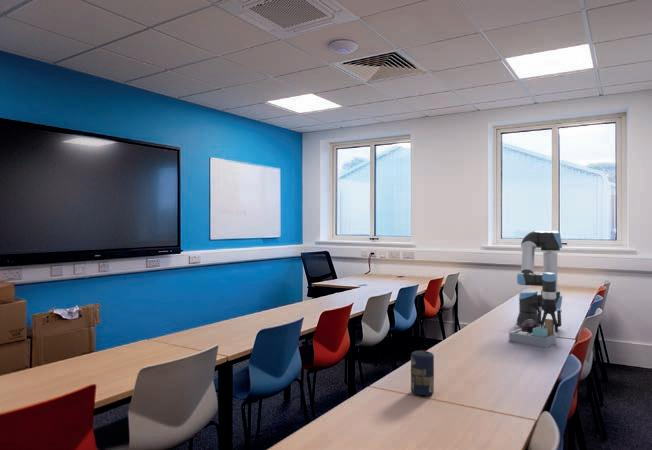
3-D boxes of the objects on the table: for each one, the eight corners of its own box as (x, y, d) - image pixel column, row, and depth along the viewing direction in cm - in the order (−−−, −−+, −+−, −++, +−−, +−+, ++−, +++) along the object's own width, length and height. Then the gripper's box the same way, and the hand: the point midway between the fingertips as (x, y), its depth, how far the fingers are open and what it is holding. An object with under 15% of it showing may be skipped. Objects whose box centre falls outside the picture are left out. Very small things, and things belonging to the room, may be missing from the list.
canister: (408, 389, 195) (408, 347, 195) (429, 388, 196) (429, 347, 196) (414, 398, 185) (414, 354, 185) (437, 397, 186) (436, 353, 186)
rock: (518, 335, 290) (534, 337, 283) (517, 322, 289) (533, 324, 282) (525, 329, 298) (541, 331, 291) (523, 316, 297) (540, 318, 290)
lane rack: (519, 336, 281) (519, 328, 281) (555, 343, 266) (555, 334, 266) (509, 340, 272) (509, 332, 272) (546, 347, 256) (546, 339, 256)
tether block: (545, 338, 277) (545, 318, 277) (556, 339, 273) (556, 320, 273) (532, 344, 265) (532, 323, 264) (543, 346, 260) (543, 325, 260)
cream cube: (519, 339, 275) (519, 331, 275) (528, 340, 272) (528, 332, 272) (517, 341, 271) (517, 333, 271) (526, 342, 268) (526, 334, 268)
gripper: (530, 297, 278) (531, 335, 278) (563, 301, 264) (563, 340, 264) (535, 295, 283) (536, 333, 283) (568, 299, 269) (568, 338, 269)
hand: (549, 336), depth 274 cm, fingers open, 6 cm apart
